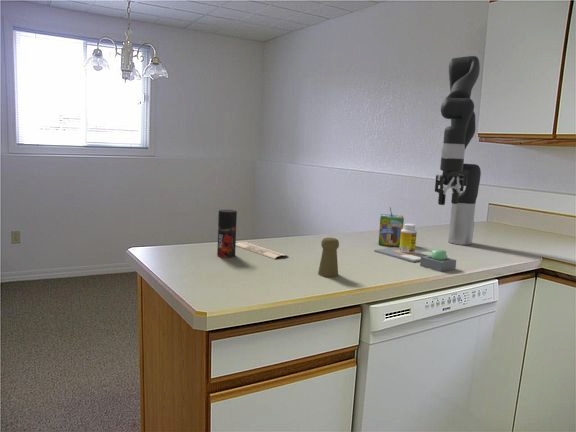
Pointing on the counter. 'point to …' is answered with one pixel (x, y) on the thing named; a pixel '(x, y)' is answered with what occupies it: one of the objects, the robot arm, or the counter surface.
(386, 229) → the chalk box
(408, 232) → the supplement bottle
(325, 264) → the cork
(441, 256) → the button
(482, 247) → the counter surface
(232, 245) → the deodorant
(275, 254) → the newspaper
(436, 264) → the button housing
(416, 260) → the sheet board
